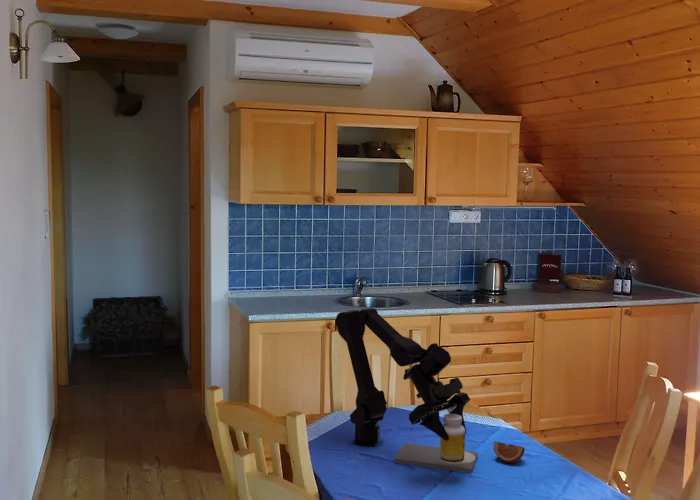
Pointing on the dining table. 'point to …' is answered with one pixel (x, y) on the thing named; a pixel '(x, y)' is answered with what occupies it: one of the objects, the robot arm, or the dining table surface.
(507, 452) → the fruit slice
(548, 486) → the dining table surface
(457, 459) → the pill bottle
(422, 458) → the panel board
